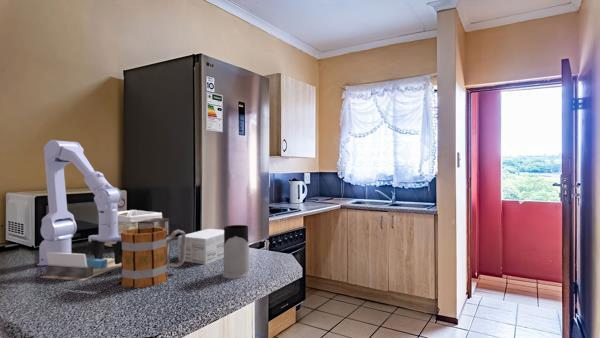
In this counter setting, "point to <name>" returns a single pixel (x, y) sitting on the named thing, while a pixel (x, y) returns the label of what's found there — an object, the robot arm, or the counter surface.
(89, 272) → the board
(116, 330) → the counter surface
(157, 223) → the coffee box
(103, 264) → the light blue rectangular box
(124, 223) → the storage basket
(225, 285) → the counter surface
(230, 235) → the glass holder
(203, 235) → the supplement box
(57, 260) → the plate
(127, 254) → the mug
